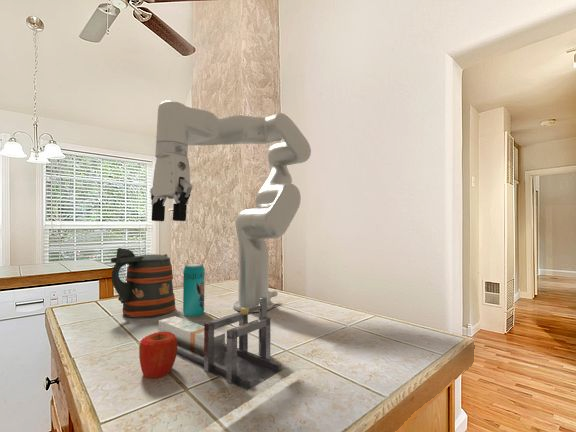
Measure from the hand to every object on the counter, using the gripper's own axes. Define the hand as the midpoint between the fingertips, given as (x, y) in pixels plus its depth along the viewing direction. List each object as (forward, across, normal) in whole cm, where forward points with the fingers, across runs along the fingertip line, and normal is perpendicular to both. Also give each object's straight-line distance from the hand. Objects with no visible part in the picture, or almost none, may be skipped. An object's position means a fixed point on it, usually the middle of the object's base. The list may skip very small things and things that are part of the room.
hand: (168, 220), depth 75 cm
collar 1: (+27, -26, +2) cm, 38 cm away
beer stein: (+27, +20, -6) cm, 35 cm away
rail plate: (+28, -20, +2) cm, 34 cm away
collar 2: (+27, -32, +2) cm, 42 cm away
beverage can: (+27, +5, -13) cm, 30 cm away
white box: (+26, -14, +2) cm, 30 cm away
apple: (+28, -19, +11) cm, 36 cm away
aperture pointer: (+27, -29, -3) cm, 40 cm away
